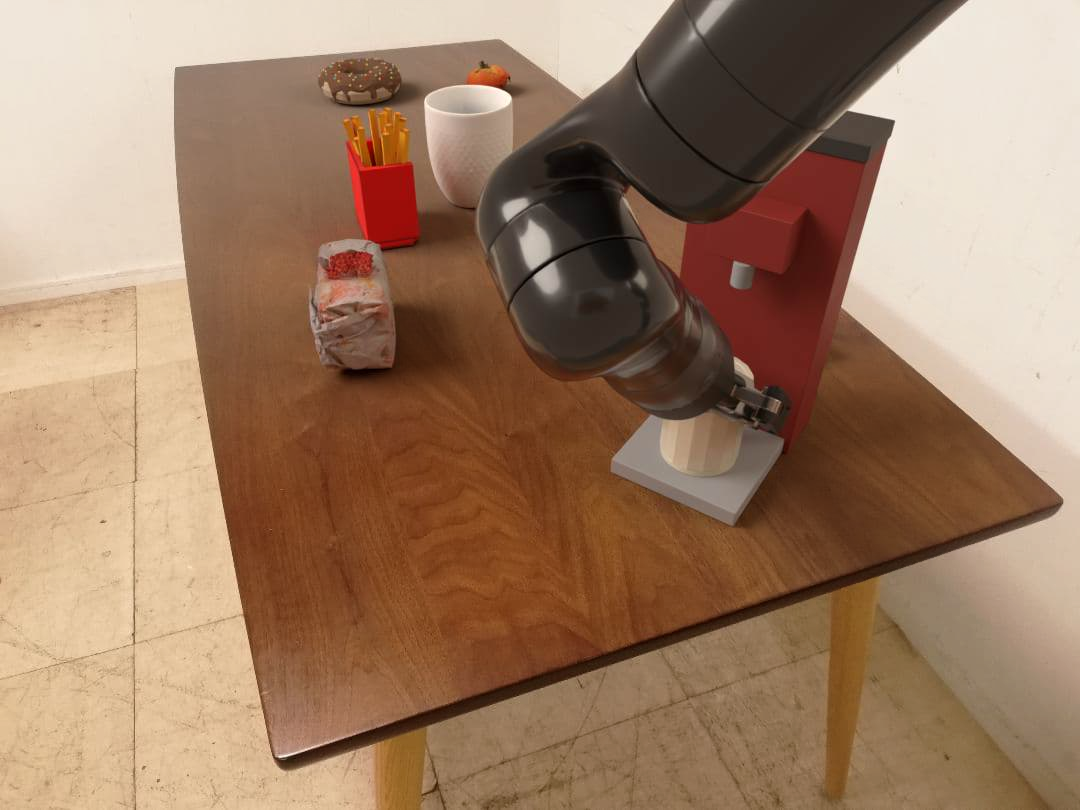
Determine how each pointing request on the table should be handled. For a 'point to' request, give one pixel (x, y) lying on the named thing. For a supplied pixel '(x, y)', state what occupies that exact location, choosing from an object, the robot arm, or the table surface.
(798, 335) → the coffee maker
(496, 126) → the mug
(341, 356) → the food item
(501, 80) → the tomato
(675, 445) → the cream cup
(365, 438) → the table surface
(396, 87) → the donut
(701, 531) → the table surface
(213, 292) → the table surface
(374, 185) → the french fries container
